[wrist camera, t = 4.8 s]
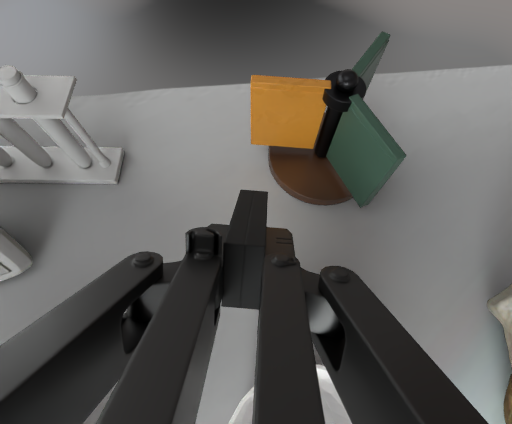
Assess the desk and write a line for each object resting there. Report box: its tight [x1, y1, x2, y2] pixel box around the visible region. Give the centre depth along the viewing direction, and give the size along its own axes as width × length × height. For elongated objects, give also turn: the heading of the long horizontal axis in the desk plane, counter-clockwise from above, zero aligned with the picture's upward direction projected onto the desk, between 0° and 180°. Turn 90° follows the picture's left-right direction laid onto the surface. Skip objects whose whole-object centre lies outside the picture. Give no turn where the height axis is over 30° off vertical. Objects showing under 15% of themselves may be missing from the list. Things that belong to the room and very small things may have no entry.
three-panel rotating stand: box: [251, 32, 406, 208], centre depth 29 cm, size 14×14×11 cm
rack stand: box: [268, 113, 353, 205], centre depth 36 cm, size 12×12×1 cm
